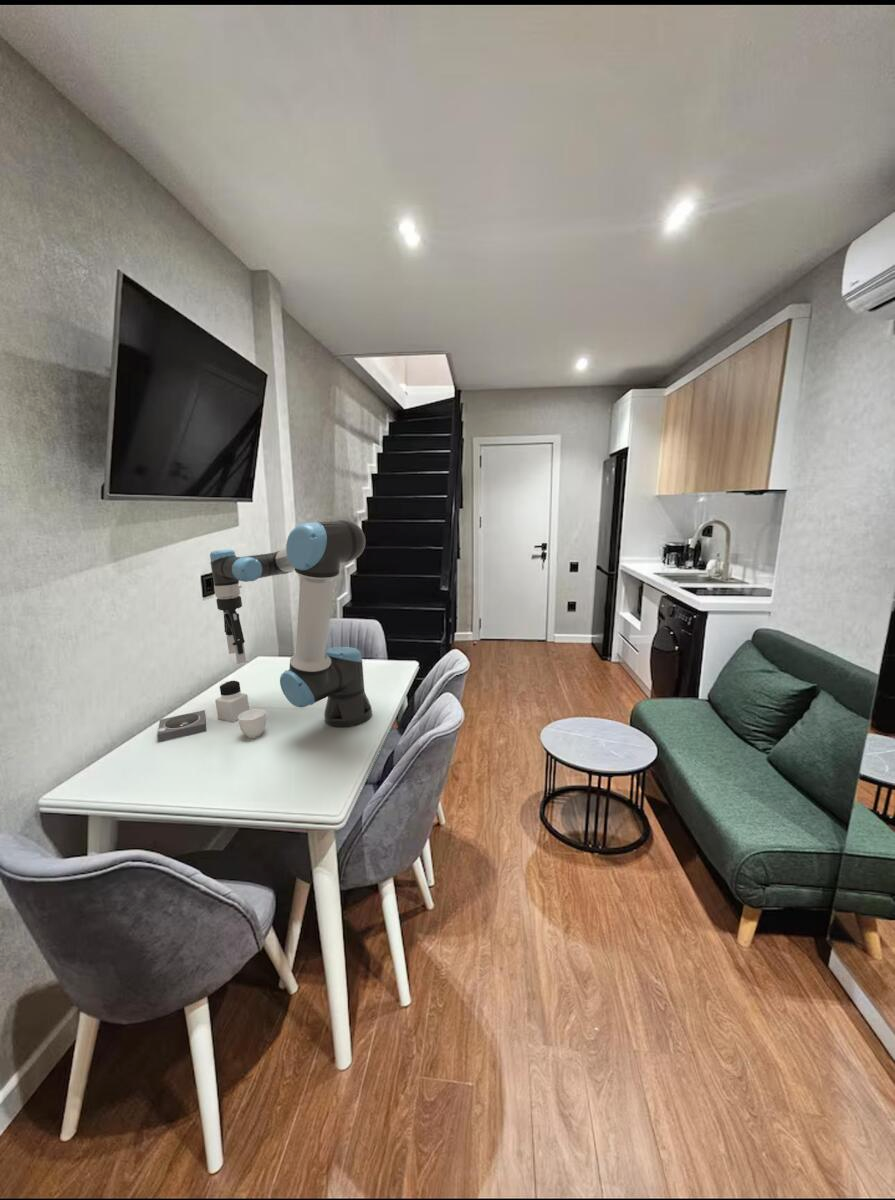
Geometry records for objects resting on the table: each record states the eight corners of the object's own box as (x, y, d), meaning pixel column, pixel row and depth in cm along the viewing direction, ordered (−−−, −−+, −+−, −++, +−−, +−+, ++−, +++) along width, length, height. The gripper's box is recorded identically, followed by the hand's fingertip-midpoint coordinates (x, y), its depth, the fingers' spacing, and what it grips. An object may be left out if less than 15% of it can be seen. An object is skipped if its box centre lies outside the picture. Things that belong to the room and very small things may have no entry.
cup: (237, 742, 141) (234, 721, 139) (246, 727, 150) (243, 707, 149) (264, 739, 142) (261, 718, 140) (272, 724, 151) (269, 704, 150)
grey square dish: (206, 731, 149) (204, 721, 148) (158, 742, 143) (156, 732, 142) (205, 716, 159) (204, 707, 159) (161, 726, 153) (159, 717, 153)
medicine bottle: (250, 713, 160) (245, 680, 158) (233, 722, 154) (228, 687, 152) (235, 710, 163) (230, 677, 161) (217, 719, 157) (212, 685, 154)
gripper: (248, 600, 148) (257, 664, 153) (233, 590, 169) (241, 647, 173) (223, 604, 144) (232, 669, 149) (210, 593, 165) (218, 651, 169)
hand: (237, 657), depth 161 cm, fingers open, 13 cm apart
